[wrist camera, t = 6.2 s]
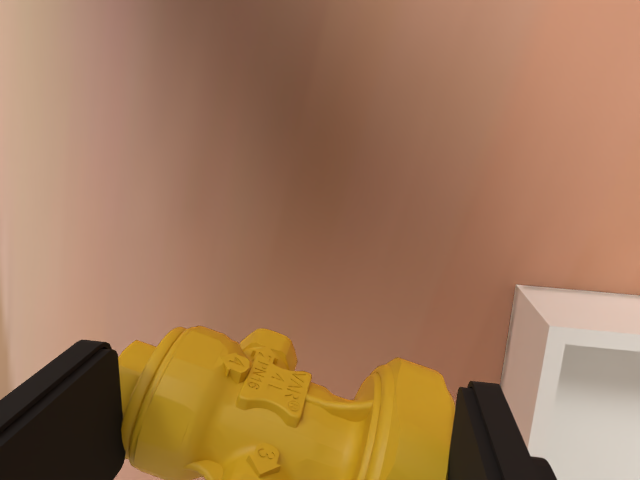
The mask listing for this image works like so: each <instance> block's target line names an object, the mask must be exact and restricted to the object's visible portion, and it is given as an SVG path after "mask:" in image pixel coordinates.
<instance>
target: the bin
mask: <svg viewBox="0 0 640 480" xmlns="http://www.w3.org/2000/svg"><path fill="white" fill-rule="evenodd" d="M500 387H501V389H502V391H503V393H504V396H505V398H506V400H507V403H508V405H509V407H510V409H511V412H512V414H513V416H514V419H515V421H516V423H517V426H518V428H519V430H520V433H521V435H522V437H523V440H524V442H525V444H526V447H527V449H528V451H529V454H530V456H533V457H541V458H544V459H546V460H547V461H548V463H549V464H550V466H551V468H552V470H553V472H554V474H555V476H556V478H557V480H640V295H630V294H618V293H607V292H596V291H584V290H573V289H561V288H550V287H538V286H527V285H516V286H515V293H514V299H513V305H512V312H511V318H510V325H509V331H508V337H507V344H506V350H505V357H504V363H503V369H502V376H501V382H500Z"/></svg>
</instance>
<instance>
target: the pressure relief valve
mask: <svg viewBox="0 0 640 480" xmlns="http://www.w3.org/2000/svg"><path fill="white" fill-rule="evenodd" d="M118 363H119V375H120V388H121V400H122V412H123V420H122V427H121V434H122V442H123V446H124V449H125V451H126V454H125V458H126V459H129V461H130V463H131V465H132V466H133V467H135V468H137V469H139V470H140V471H142V472H145V473H148V474H150V475H153V476H156V477H159V478H161V479H164V480H192V479H195V478H199V477H204V478H205V479H206V480H448V467H449V450H450V443H451V436H452V429H453V422H454V415H455V404H454V401H453V398H452V396H451V394H450V393H449V391H448V390H447V388H446V385H445V382H444V379H443V376H442V375H441V374H440V373H439V372H437V371H436V370H433V369H430V368H427V367H424V366H422V365H419V364H416V363H413V362H410V361H407V360H404V359H402V358H399V357H397V358H395V359H393V360H391V361H390V362H388V363H387V364H386V365H381V366H378V367H377V368H376V369H375V370H374V371H373V372H372V373H371V374H370V376H368V377H367V378H366V379H365V380H364V382H363V383H362V385H361V386H360V388H359V390H358V392H357V394H356V396H355V399H354V400H347V399H344V398H341V397H338V396H335V395H333V394H332V393H331V392H330V391H329V390H328V389H326V388H325V387H323V386H320V385H317V384H315V383H312V382H311V379H312V375H311V374H310V373H308V372H305V371H295V367H296V364H297V357H296V353H295V349H294V347H293V344H292V341H291V340H290V339H289V338H288V337H286V336H284V335H282V334H280V333H277V332H275V331H271V330H268V329H263V328H262V329H257V330H255V331H254V332H252V333H251V334H250V335H248V336H247V337H246V338H245V339H243V340H242V341H241V343H240V345H239V343H238V342H236V341H233V340H231V339H230V338H229V337H228V336H226V335H225V334H223V333H220V332H217V331H214V330H211V329H209V328H206V327H203V326H197V327H191V328H189V329H186V328H183V327H177V328H175V329H173V330H171V331H170V332H169V333H168V334H167V335H166V336H165V337H164V338H163V339H162V341H161V342H160V343H159V345H158V346H157V347H155V346H152V345H149V344H147V343H144V342H141V341H138V340H136V341H134V342H133V343H132V344H130V345H129V346H128V347H127V348H126V349H125V350H124V351H123V352H122V353H121V355H120V356H119V357H118Z"/></svg>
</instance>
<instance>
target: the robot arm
mask: <svg viewBox="0 0 640 480" xmlns="http://www.w3.org/2000/svg"><path fill="white" fill-rule="evenodd" d="M122 420H123V412H122V400H121V388H120V375H119V363H118V354H117V352H116V351H115V350H112V348H111V346H110V344H109V343H107V342H99V341H90V340H80V341H78V342H77V343H75V344H74V345H73V346H71V347H70V348H69V349H67V350H66V351H65V352H63V353H62V354H61V355H59V356H58V357H57V358H55V359H54V360H53V361H51V362H50V363H49V364H47V365H46V366H45V367H44V368H42V369H41V370H40V371H38V372H37V373H36V374H34V375H33V376H32V377H30V378H29V379H28V380H26V381H25V382H24V383H22V384H21V385H20V386H18V387H17V388H16V389H14V390H13V391H12V392H10V393H9V394H8V395H7V396H5V397H4V398H3V399H1V400H0V480H113V479H114V478H115V476H116V475H117V474H118V472H119V471H120V469H121V468H122V465H123V463H124V460H125V454H126V451H125V449H124V446H123V442H122V434H121V427H122ZM448 480H557V478H556V476H555V474H554V472H553V470H552V468H551V466H550V464H549V463H548V461H547V460H546V459H544V458H541V457H533V456H530V454H529V451H528V449H527V447H526V444H525V442H524V440H523V437H522V435H521V433H520V430H519V428H518V426H517V423H516V421H515V419H514V416H513V414H512V412H511V409H510V407H509V405H508V403H507V400H506V398H505V396H504V393H503V391H502V389H501V387H500V385H499V384H494V383H485V382H475V381H470V382H469V384H468V388H464V387H460V388H459V390H458V394H457V401H456V408H455V415H454V422H453V429H452V436H451V443H450V450H449V467H448Z"/></svg>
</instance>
